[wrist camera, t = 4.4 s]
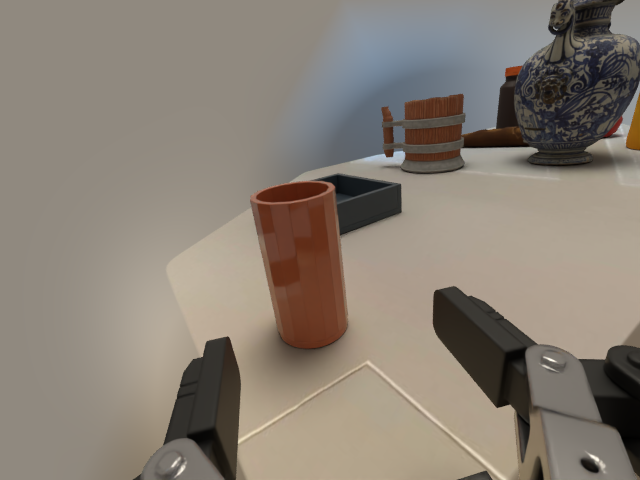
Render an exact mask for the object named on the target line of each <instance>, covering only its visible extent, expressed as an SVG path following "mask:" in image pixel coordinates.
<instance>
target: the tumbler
mask: <svg viewBox="0 0 640 480" xmlns="http://www.w3.org/2000/svg"><path fill="white" fill-rule="evenodd" d="M250 202H251V206H252V211H253V216H254V220H255V225H256V230H257V234H258V239H259V244H260V248H261V253H262V258H263V262H264V267H265V272H266V276H267V281H268V286H269V290H270V295H271V300H272V304H273V309H274V314H275V318H276V323H277V328H278V330H279V334H280V336H281V338H282V339H283V340H284V341H285V342H286V343H287V344H289V345H291V346H294V347H297V348H303V349H312V348H319V347H323V346H326V345H328V344H330V343H332V342H334V341H336V340H337V339H338V338H340V337H341V336H342V335H343V333H344V332H345V330H346V328H347V325H348V318H347V316H348V312H347V302H346V292H345V282H344V272H343V262H342V252H341V242H340V232H339V221H338V211H337V201H336V191H335V186H334V185H333V184H332V183H328V182H324V181H299V182H291V183H285V184H280V185H276V186H272V187H268V188H265V189H263V190H260V191H257V192H256V193H254V194H253V195H252V196H251V199H250Z"/></svg>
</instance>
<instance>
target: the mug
mask: <svg viewBox="0 0 640 480" xmlns="http://www.w3.org/2000/svg"><path fill="white" fill-rule="evenodd" d="M463 98H464V96H463V94H458V95H450V96H449V97H442V98H441V97H436V98H430V99H426V100H413V101H410V102H405V119H403V120H401V121H393V117H392V116H391V112H390V111H389V109H388V107H382V113H383V122H382V127H383V132H384V144H383V149H384V152H385V155H386V157H393V153H394V148H403V152H405V160H404V162H403V164H402V166H401V168H402V169H403V170H404V171H407V172H412V173H440V172H447V171H452V170H456V169H459V168H461V167H462V166H463V165H464V164H465V163H464V161H463V159H462V157H461V155H460V148H462V147H463V145H464V138H463V137H461V131H462V123H464V122H465V113H463ZM393 126H403V128H405V142H403V143H394V142H393V141H394V137H393Z"/></svg>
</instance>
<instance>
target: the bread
mask: <svg viewBox="0 0 640 480" xmlns="http://www.w3.org/2000/svg"><path fill="white" fill-rule="evenodd" d="M461 137H463V138H464V145H463V147H489V146H529V144H528V143H525V142H524V141H523V138H522V134H521V131H520V127H506V128H503V129H492V130H486V129H485V130H479V131H476V132H473V133H468V134H464V135H461Z"/></svg>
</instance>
